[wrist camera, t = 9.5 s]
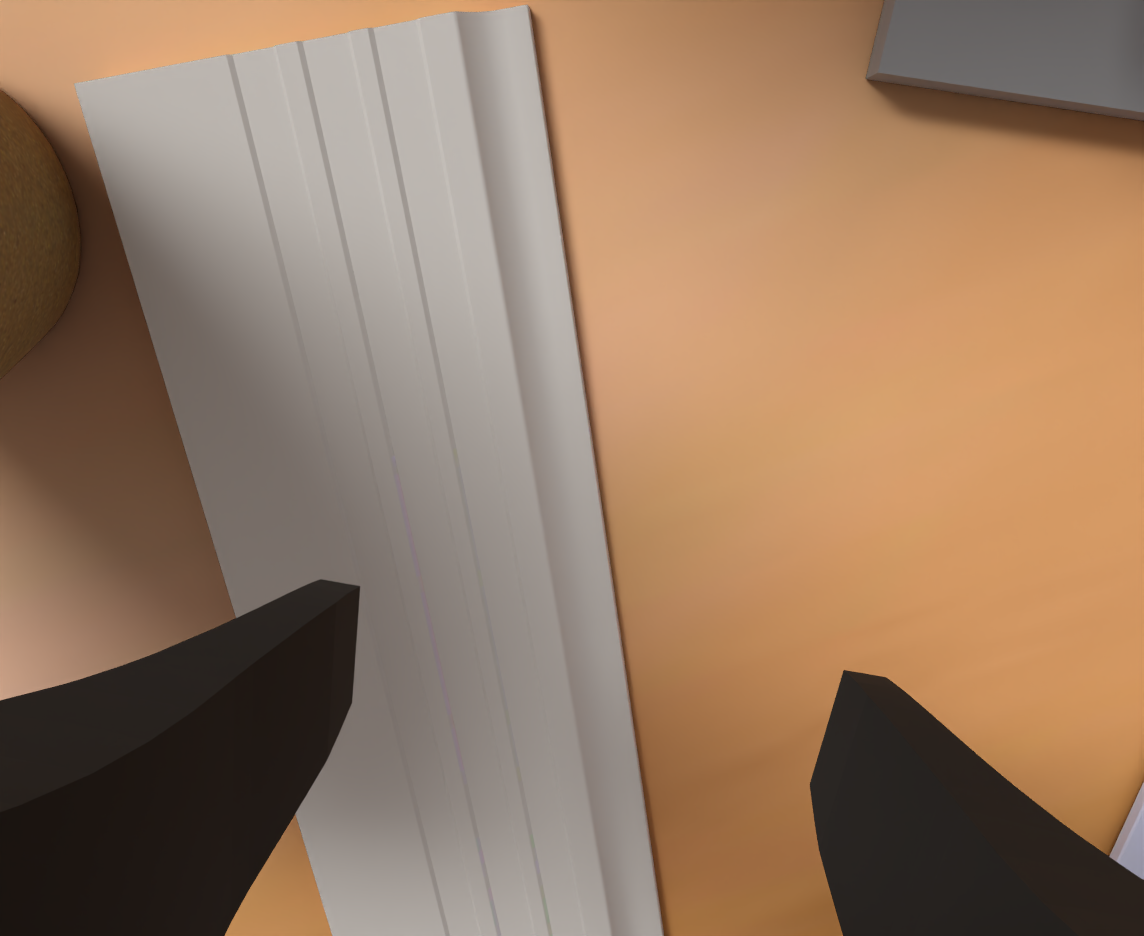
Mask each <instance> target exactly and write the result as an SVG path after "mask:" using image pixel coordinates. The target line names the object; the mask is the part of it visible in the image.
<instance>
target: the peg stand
mask: <svg viewBox="0 0 1144 936" xmlns="http://www.w3.org/2000/svg"><path fill="white" fill-rule="evenodd" d="M866 79H868V80H875V81H882V82H888V83H895V84H901V85H908V86H915V87H921V88H928V89H935V90H941V91H948V92H955V93H961V94H968V95H975V96H981V97H988V98H995V99H1001V100H1008V101H1014V102H1021V103H1028V104H1034V105H1041V106H1048V107H1054V108H1061V109H1068V110H1074V111H1081V112H1088V113H1094V114H1101V115H1108V116H1114V117H1121V118H1127V119H1134V120H1141V121H1144V0H884V4H883V9H882V13H881V17H880V21H879V25H878V29H877V33H876V38H875V42H874V46H873V50H872V54H871V58H870V62H869V66H868V71H867V75H866Z"/></svg>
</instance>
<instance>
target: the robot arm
mask: <svg viewBox="0 0 1144 936" xmlns="http://www.w3.org/2000/svg"><path fill="white" fill-rule="evenodd" d="M359 598H360V586H357V585H351V584H346V583H340V582H334V581H328V580H323V579H320V580H317V581H314V582H312V583H309V584H307V585H305V586H302V587H300V588H298V589H296V590H294V591H292V592H290V593H287V594H285V595H283V596H281V597H279V598H277V599H275V600H273V601H271V602H269V603H267V604H265V605H263V606H261V607H259V608H257V609H254V610H252V611H250V612H248V613H246V614H244V615H242V616H240V617H238V618H236V619H233V620H231V621H229V622H227V623H225V624H223V625H221V626H219V627H216V628H214V629H212V630H209V631H207V632H205V633H202V634H200V635H198V636H195V637H193V638H191V639H188V640H186V641H183V642H181V643H179V644H176V645H174V646H172V647H169V648H167V649H165V650H162V651H160V652H157V653H155V654H152V655H150V656H147V657H145V658H142V659H139V660H137V661H134V662H131V663H128V664H125V665H123V666H120V667H117V668H114V669H111V670H108V671H105V672H102V673H98V674H95V675H92V676H89V677H86V678H83V679H80V680H77V681H73V682H70V683H67V684H63V685H59V686H55V687H52V688H48V689H44V690H40V691H36V692H32V693H28V694H24V695H20V696H16V697H12V698H9V699H5V700H1V701H0V936H224V935H225V933H226V931H227V929H228V927H229V925H230V923H231V921H232V919H233V917H234V916H235V914H236V912H237V910H238V908H239V907H240V905H241V903H242V901H243V899H244V898H245V896H246V894H247V892H248V890H249V889H250V887H251V885H252V884H253V882H254V881H255V879H256V877H257V876H258V874H259V872H260V871H261V869H262V867H263V866H264V864H265V862H266V861H267V859H268V858H269V856H270V854H271V853H272V851H273V849H274V848H275V846H276V844H277V843H278V841H279V840H280V838H281V836H282V835H283V833H284V831H285V830H286V828H287V826H288V825H289V823H290V821H291V820H292V818H293V817H294V815H295V813H296V812H297V810H298V808H299V807H300V805H301V803H302V802H303V800H304V798H305V797H306V795H307V793H308V792H309V790H310V788H311V787H312V785H313V783H314V782H315V780H316V778H317V777H318V775H319V773H320V772H321V770H322V768H323V767H324V765H325V763H326V761H327V759H328V757H329V755H330V753H331V751H332V748H333V746H334V744H335V742H336V740H337V737H338V735H339V733H340V730H341V728H342V726H343V723H344V721H345V719H346V716H347V714H348V711H349V709H350V707H351V704H352V698H353V684H354V670H355V655H356V641H357V627H358V612H359ZM810 790H811V797H812V805H813V813H814V821H815V827H816V833H817V840H818V846H819V851H820V855H821V859H822V862H823V866H824V870H825V873H826V877H827V880H828V884H829V888H830V891H831V895H832V898H833V902H834V905H835V909H836V912H837V916H838V919H839V923H840V926H841V929H842V933H843V936H1144V880H1143V879H1144V782H1143V785H1142V787H1141V789H1140V791H1139V793H1138V795H1137V798H1136V800H1135V802H1134V804H1133V806H1132V808H1131V811H1130V813H1129V815H1128V817H1127V819H1126V821H1125V824H1124V826H1123V828H1122V830H1121V832H1120V834H1119V837H1118V839H1117V841H1116V843H1115V845H1114V847H1113V850H1112V852H1111V854H1110V856H1108V855H1106V854H1105V853H1103V852H1102V851H1100V850H1099V849H1097V848H1096V847H1094V846H1093V845H1092V844H1090V843H1089V842H1087V841H1086V840H1084V839H1083V838H1082V837H1080V836H1079V835H1077V834H1076V833H1075V832H1073V831H1072V830H1071V829H1069V828H1068V827H1067V826H1065V825H1064V824H1062V823H1061V822H1060V821H1058V820H1057V819H1056V818H1055V817H1053V816H1052V815H1051V814H1049V813H1048V812H1047V811H1046V810H1044V809H1043V808H1042V807H1041V806H1039V805H1038V804H1037V803H1035V802H1034V801H1033V800H1032V799H1030V798H1029V797H1028V796H1027V795H1025V794H1024V793H1023V792H1021V791H1020V790H1019V789H1018V788H1016V787H1015V786H1014V785H1013V784H1012V783H1010V782H1009V781H1008V780H1007V779H1006V778H1004V777H1003V776H1002V775H1001V774H999V773H998V772H997V771H996V770H995V769H994V768H992V767H991V766H990V765H989V764H988V763H986V762H985V761H984V760H983V759H982V758H981V757H979V756H978V755H977V754H976V753H975V752H974V751H972V750H971V749H970V748H969V747H968V746H967V745H966V744H964V743H963V742H962V741H961V740H960V739H959V738H958V737H956V736H955V735H954V734H953V733H952V732H951V731H950V730H948V729H947V728H946V727H945V726H944V725H943V724H942V723H940V722H939V721H938V720H937V719H936V718H935V717H934V716H933V715H931V714H930V713H929V712H928V711H927V710H926V709H925V708H923V707H922V706H921V705H920V704H919V703H918V702H916V701H915V700H914V699H913V698H912V697H911V696H909V695H908V694H907V693H906V692H905V691H903V690H902V689H901V688H900V687H898V686H897V685H896V684H894V683H893V682H892V681H890V680H889V679H887V678H886V677H881V676H875V675H869V674H863V673H858V672H852V671H846V670H844V671H843V675H842V678H841V682H840V685H839V688H838V692H837V695H836V698H835V702H834V705H833V708H832V712H831V715H830V718H829V722H828V725H827V728H826V732H825V735H824V739H823V742H822V745H821V749H820V752H819V755H818V759H817V762H816V765H815V769H814V772H813V775H812V779H811V782H810Z"/></svg>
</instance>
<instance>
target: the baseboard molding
mask: <svg viewBox="0 0 1144 936" xmlns="http://www.w3.org/2000/svg"><path fill="white" fill-rule="evenodd" d="M74 85H75V89H76V92H77V95H78V99H79V102H80V105H81V108H82V112H83V115H84V118H85V122H86V125H87V128H88V132H89V135H90V138H91V141H92V145H93V148H94V151H95V155H96V158H97V161H98V165H99V168H100V171H101V174H102V178H103V181H104V184H105V188H106V191H107V194H108V197H109V201H110V204H111V207H112V211H113V214H114V217H115V221H116V224H117V227H118V230H119V234H120V237H121V240H122V244H123V247H124V250H125V254H126V257H127V260H128V263H129V267H130V270H131V273H132V277H133V280H134V283H135V287H136V290H137V293H138V296H139V300H140V303H141V306H142V310H143V313H144V316H145V320H146V323H147V326H148V329H149V333H150V336H151V339H152V343H153V346H154V349H155V352H156V356H157V359H158V362H159V366H160V369H161V372H162V376H163V379H164V382H165V385H166V389H167V392H168V395H169V399H170V402H171V405H172V409H173V412H174V415H175V418H176V422H177V425H178V428H179V432H180V435H181V438H182V442H183V445H184V448H185V451H186V455H187V458H188V461H189V465H190V468H191V471H192V475H193V478H194V481H195V484H196V488H197V491H198V494H199V498H200V501H201V504H202V507H203V511H204V514H205V517H206V521H207V524H208V527H209V531H210V534H211V537H212V540H213V544H214V547H215V550H216V554H217V557H218V560H219V564H220V567H221V570H222V573H223V577H224V580H225V583H226V587H227V590H228V593H229V597H230V600H231V603H232V606H233V610H234V613H235V616H236V618H238V617H240V616H242V615H244V614H246V613H248V612H250V611H252V610H254V609H257V608H259V607H261V606H263V605H265V604H267V603H269V602H271V601H273V600H275V599H277V598H279V597H281V596H283V595H285V594H287V593H290V592H292V591H294V590H296V589H298V588H300V587H302V586H305V585H307V584H309V583H312V582H314V581H317V580H320V579H323V580H328V581H334V582H340V583H346V584H351V585H357V586H360V598H359V612H358V627H357V641H356V655H355V670H354V684H353V698H352V704H351V707H350V709H349V711H348V714H347V716H346V719H345V721H344V723H343V726H342V728H341V730H340V733H339V735H338V737H337V740H336V742H335V744H334V746H333V748H332V751H331V753H330V755H329V757H328V759H327V761H326V763H325V765H324V767H323V768H322V770H321V772H320V773H319V775H318V777H317V778H316V780H315V782H314V783H313V785H312V787H311V788H310V790H309V792H308V793H307V795H306V797H305V798H304V800H303V802H302V803H301V805H300V807H299V808H298V810H297V812H296V813H295V814H296V817H297V821H298V824H299V827H300V831H301V834H302V837H303V841H304V844H305V847H306V850H307V854H308V857H309V860H310V864H311V867H312V870H313V874H314V877H315V880H316V883H317V887H318V890H319V893H320V897H321V900H322V903H323V907H324V910H325V913H326V916H327V920H328V923H329V926H330V930H331V933H332V936H664V931H663V924H662V917H661V910H660V904H659V897H658V890H657V883H656V876H655V869H654V862H653V855H652V848H651V841H650V835H649V828H648V821H647V814H646V807H645V800H644V793H643V786H642V779H641V772H640V766H639V759H638V752H637V745H636V738H635V731H634V724H633V717H632V710H631V703H630V696H629V690H628V683H627V676H626V669H625V662H624V655H623V648H622V641H621V634H620V627H619V621H618V614H617V607H616V600H615V593H614V586H613V579H612V572H611V565H610V558H609V552H608V545H607V538H606V531H605V524H604V517H603V510H602V503H601V496H600V489H599V482H598V476H597V469H596V462H595V455H594V448H593V441H592V434H591V427H590V420H589V413H588V407H587V400H586V393H585V386H584V379H583V372H582V365H581V358H580V351H579V344H578V338H577V331H576V324H575V317H574V310H573V303H572V296H571V289H570V282H569V275H568V269H567V262H566V255H565V248H564V241H563V234H562V227H561V220H560V213H559V206H558V199H557V193H556V186H555V179H554V172H553V165H552V158H551V151H550V144H549V137H548V130H547V124H546V117H545V110H544V103H543V96H542V89H541V82H540V75H539V68H538V61H537V55H536V48H535V41H534V34H533V27H532V20H531V13H530V7H529V6H528V5H522V6H517V7H511V8H506V9H501V10H495V11H486V12H449V13H444V14H438V15H433V16H428V17H423V18H418V19H416V20H412V21H407V22H402V23H397V24H391V25H386V26H381V27H375V28H365V29H359V30H354V31H349V32H348V33H344V34H339V35H333V36H328V37H323V38H317V39H312V40H307V41H296V42H291V43H286V44H280V45H275V46H274V47H270V48H265V49H259V50H254V51H249V52H244V53H238V54H233V55H222V56H217V57H212V58H207V59H201V60H196V61H191V62H186V63H180V64H175V65H170V66H164V67H159V68H154V69H149V70H143V71H138V72H133V73H128V74H122V75H117V76H112V77H107V78H101V79H96V80H91V81H86V82H80V83H75V84H74Z"/></svg>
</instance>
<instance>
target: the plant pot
mask: <svg viewBox="0 0 1144 936" xmlns="http://www.w3.org/2000/svg"><path fill="white" fill-rule="evenodd" d="M80 252H81V246H80V229H79V222H78V215H77V209H76V206H75V202H74V198H73V194H72V191H71V187H70V185H69V182H68V179H67V177H66V174H65V172H64V170H63V168H62V166H61V164H60V162H59V160H58V158H57V156H56V154H55V152H54V150H53V148H52V146H51V145H50V143H49V142H48V140H47V139H46V137H45V136H44V135H43V133H42V132H41V130H40V129H39V128H38V127H37V126H36V124H35V123H34V122H33V121H32V120H31V118H30V117H29V116H28V115H27V114H26V112H25V111H24V110H23V109H22V108H21V107H20V106H19V105H18V104H17V103H16V102H15V101H14V100H13V99H11V98H10V97H9V96H8V95H6V94H5V93H4V92H3V91H1V90H0V379H1V378H2V377H3V376H4V375H6V374H7V373H8V372H9V371H10V370H11V369H12V368H13V367H14V366H15V365H16V364H17V363H18V362H19V361H20V360H21V359H22V358H23V357H24V356H25V355H26V354H27V353H28V352H29V351H30V350H31V349H32V348H33V347H34V346H35V345H36V344H37V343H38V342H39V341H40V340H41V339H42V338H43V337H44V336H45V335H46V334H47V333H48V331H49V330H50V329H51V328H52V327H53V326H54V324H55V323H56V322H57V321H58V319H59V318H60V316H61V315H62V313H63V312H64V310H65V308H66V306H67V304H68V302H69V300H70V298H71V295H72V292H73V289H74V286H75V283H76V280H77V277H78V273H79V263H80Z"/></svg>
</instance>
